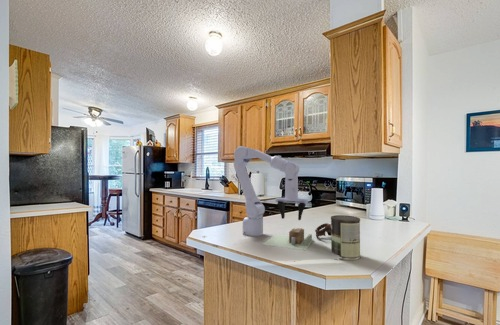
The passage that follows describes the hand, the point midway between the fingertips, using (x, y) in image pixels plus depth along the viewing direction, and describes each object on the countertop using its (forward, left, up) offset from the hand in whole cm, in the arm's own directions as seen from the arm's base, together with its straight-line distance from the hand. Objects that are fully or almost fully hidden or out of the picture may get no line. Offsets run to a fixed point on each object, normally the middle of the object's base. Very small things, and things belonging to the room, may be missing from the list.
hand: (291, 219), depth 112 cm
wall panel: (0, -6, -10) cm, 11 cm away
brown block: (+3, -4, -9) cm, 10 cm away
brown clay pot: (+15, +11, -10) cm, 21 cm away
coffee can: (+23, -11, -10) cm, 28 cm away
